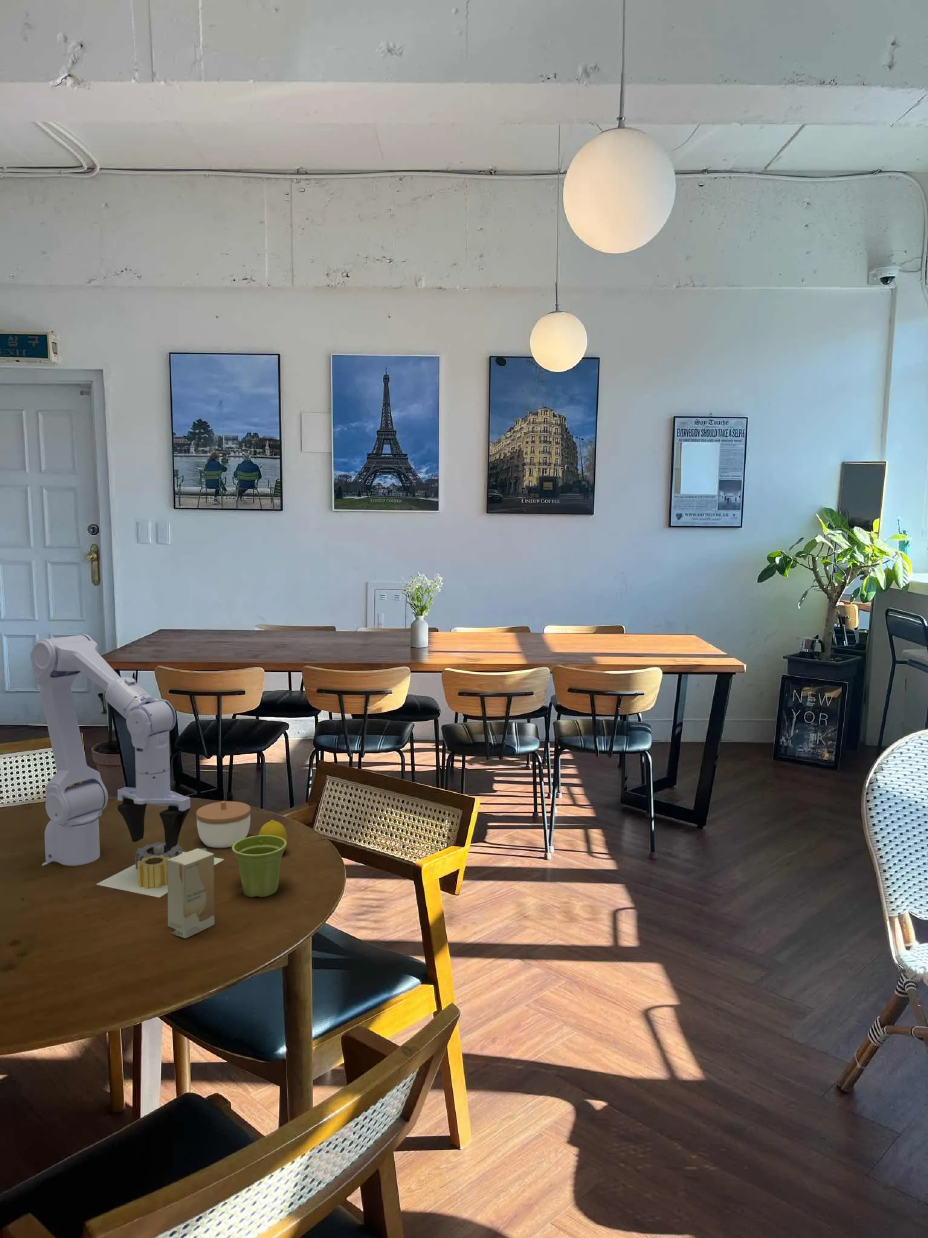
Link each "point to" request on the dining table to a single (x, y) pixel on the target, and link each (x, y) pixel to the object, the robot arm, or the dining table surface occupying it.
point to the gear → (149, 851)
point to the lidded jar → (223, 823)
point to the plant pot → (259, 863)
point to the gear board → (130, 879)
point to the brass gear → (153, 872)
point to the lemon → (274, 830)
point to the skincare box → (191, 892)
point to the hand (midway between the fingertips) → (154, 843)
